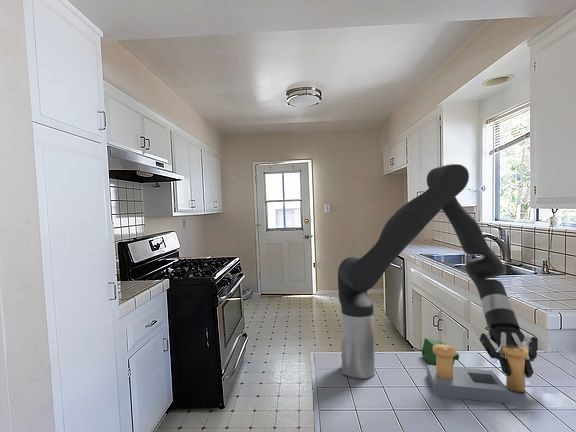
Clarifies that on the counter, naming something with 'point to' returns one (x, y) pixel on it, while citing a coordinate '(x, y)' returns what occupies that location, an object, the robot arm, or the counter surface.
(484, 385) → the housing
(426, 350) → the clamp
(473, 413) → the counter surface
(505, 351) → the tan peg
